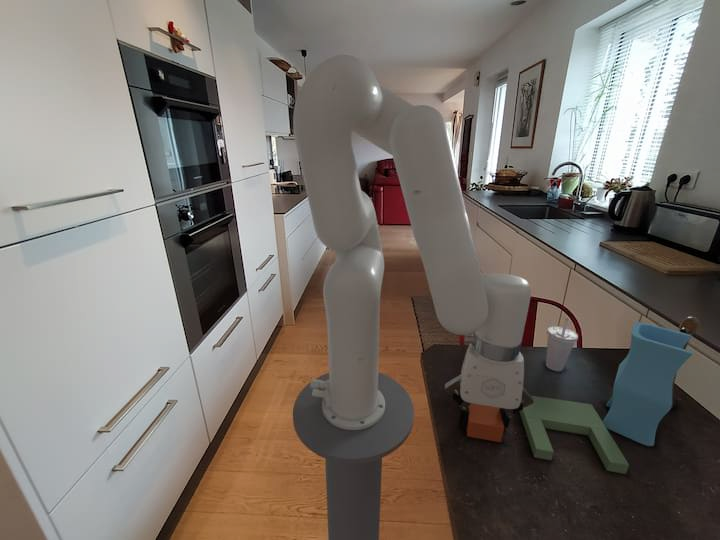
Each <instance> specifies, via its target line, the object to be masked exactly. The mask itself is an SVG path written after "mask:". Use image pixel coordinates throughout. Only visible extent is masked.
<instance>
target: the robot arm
mask: <svg viewBox="0 0 720 540" xmlns="http://www.w3.org/2000/svg"><path fill="white" fill-rule="evenodd" d="M292 125H293V126H292V128H293V135H294V141H295V146H296V151H297V155H298V160H299V163H300V168H301V172H302V176H303V182H304V186H305V192H306V196H307V200H308V205H309V208H310V209H309V210H310V213H311V217H312V218H311V219H312V223H313V227H314V231H315V234H316V236H317V238H318V239H319V241H320V243H322V244H323V246H324V247H326V248H327V249H330V250H332V251H334V254H335V260H334V262H332V264H331V266H330V268H329V269H328V271H327V273H326V275H325V278H324V281H323V288H322V296H323V305H324V310H325V318H326V329H327V330H326V331H327V348H328V351H327V352H328V373H329V380H327V381H321V380H317V379H316V378H312V379H311V380H310V382H311V384H310V388H311V389H313V391H312V396H314V397H322V398H323V401H322V410H323V414H324V416H325V418H326V419H327V420H328V421H329V422H330V423H331V424H332V425H334V426H336V427H338V428H341V429H345V430H362V429H366V428H369V427H371V426H373V425H374V424H376V423H377V422H378V421H379V420H380V419H381V418H382V416H383V414H384V411H385V399H384V397H383V395H382V393H381V392H380V391H379V390H378V372H379V364H380V363H379V362H380V326H381V325H380V320H381V317H380V316H381V315H380V314H381V313H380V312H381V310H380V309H381V293H382V284H383V279H384V274H385V273H384V272H385V259H384V257H385V256H384V253H383V245H382V242H381V241H382V240H381V236H380V229H379V225H378V219H377V214H376V209H375V206H374V203H373V201H372V199H371V197H370V196H368V194H367V193H366V192H365V191H363V190H362V188H361V183H360V178H359V173H358V172H359V171H358V164H357V159H356V156H355V151H354V148H353V141H352V135H353V133H355V135H358V136H359V137H361V138H363V139H365V140H366V141H368V142H369V143H371V144H372V145H374V146H376V147H377V148H379V149H381V150H383V152H385V153H387V154H389V155H391V156H392V159H393V162H394V163H393V164H394V167H395V170H396V173H397V177H398V181H399V184H400V188H401V193H402V196H403V199H404V204H405V207H406V211H407V214H408V218H409V222H410V226H411V230H412V231H411V232H412V235H413V238H414V241H415V243H416V246H417V248H418V251H419V254H420V258H421V261H422V264H423V269H424V272H425V276H426V280H427V285H428V288H429V291H430V295H431V299H432V303H433V306H434V307H433V308H434V311H435V314H436V318H437V320H438V322H439V323H440V325H441V326H442V327H443V328H444V329H445V330H446V331H447V332H449V333H451V334H454V335H458V336H464V342H465V343H468V347H467V349H466V352H465V355H464V357H463V358H464V359H463V362H462V366H461V370H460V374H459V375H458V376H456V377H454V378H453V379H451V380H449V381H448V382H446V383H445V384H444V391H445V392H446V393H447V394H448V395H449V396H450V397H452V400H453V401H454V402H455V403H456V404H457V405H458V406H459V413H458V419H459V421H462V428H465V429H466V427H467V423H468V416H469V405H470V404H471V403H473V404H479V405H486V406H492V407H498V408H499V409H500V413H501V417H502V421H503V425H504V431H503V435H505V433H506V428H507V429H508V428H509V427H510V421H511V419H512V418H514V415H515V414H518V413H520V412H519V411H521V410H523V408H524V407H527V406H529V405H531V404H533V403H534V401H533V398H532V396H533V395H531V394H530V392H528V390H526V388H525V387H524V378H525V358H524V356H523V354H522V353H521V347H522V342H523V337H524V331H525V327H526V323H527V317H528V312H529V307H530V303H531V302H530V301H531V298H532V297H531V296H532V286H531V284H530V283H529V282H528V280H526V279H525V278H523V277H521V276H517V275H513V274H509V273H493V274H491V273H490V274H489V273H483V272H482V270H481V267H480V261H479V258H478V254H477V251H476V248H475V247H476V246H475V242H474V239H473V236H472V231H471V225H470V221H469V217H468V213H467V210H466V205H465V200H464V197H463V192H462V187H461V183H460V178H459V174H458V170H457V169H458V168H457V164H456V159H455V155H454V149H453V146H452V140H451V137H450V132H449V129H448V126H447V122H446V120H445V118H444V115H442V113H441V112H440V111H439V110H438V109H437V108H435V107H433V106H430V105H426V104H419V105H418V104H417V105H413V104H411V103H409V102H408V101H406V100H405V99H403V98H401V97H400V96H398V95H396V94H395V93H394V92H392V91H391V90H389V89H387V88H386V87H385V86H383V85H382V84H380V83H379V82H378V80H377V77H376V75H375V74H374V73H373V71H372V69H371V67H369V66H368V65H367V64H366V62H364V61H362V60H361V59H360V58H357V57H355V56H353V55H349V54H337V55H334V56H331V57H329V58H326V59H325V60H323V61H322V62H320V63H319V64H318V65H317V66H316V67H315V68H314V69H313V70H312V71H311V72H310V73H309V74H308V75H307V77H306V78H305V79H304V81H303V83H302V85H301V87H300V89H299V91H298V93H297V96H296V99H295V104H294V107H293V116H292ZM458 388H459V390H458ZM316 389H317V390H316ZM319 389H321V390H324V391H320V390H319Z"/></svg>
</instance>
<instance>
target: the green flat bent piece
mask: <svg viewBox="0 0 720 540" xmlns="http://www.w3.org/2000/svg"><path fill="white" fill-rule="evenodd" d="M531 396H532V398H533V401H534V403H533V404H531V405H529V406H527V407H524V408H523V410H521V411H519V412H518V413H519V415H520V418H521V421H522V424H523V428H524V430H525V433H526V436H527V440H528V442H529V446H530V449H531V452H532V456H533V458H536V459H542V460H547V461H552V459H553V457H554V452H555V451H554V449H553V446H552V444H551V441H550V439H549V436H548V434H547V431H546V429H548V430H552V431H553V430H554V431H560V432H565V433H572V434H578V435H585V436H587V437H588V438H589V440H590V442H591V443H592V446H593V448H594V450H595V451H596V453H597V455H598V457H599V459H600V460H601V462H602V465H603V466H604V468H605V470H606V471H607V472H612V473H618V474H623V475H627V472H628V470H629V468H630V464H629V463H628V461H627V459H626V457H625V456H624V454H623V453H622V451H621V449H620V448H619V446H618V444H617V443H616V441H615V439H614V437H613V436H612V435H611V434H610V432H609V429H607V428H606V427H605V425H604V424H603V422H602V421H603V420H602V419H601V417H600V415H599V413H598V412H597V411H596V409H595V407H594V406H593V404H590V403H584V402H578V401H570V400H566V399H565V400H563V399H557V398H552V397H544V396H537V395H531Z"/></svg>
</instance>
